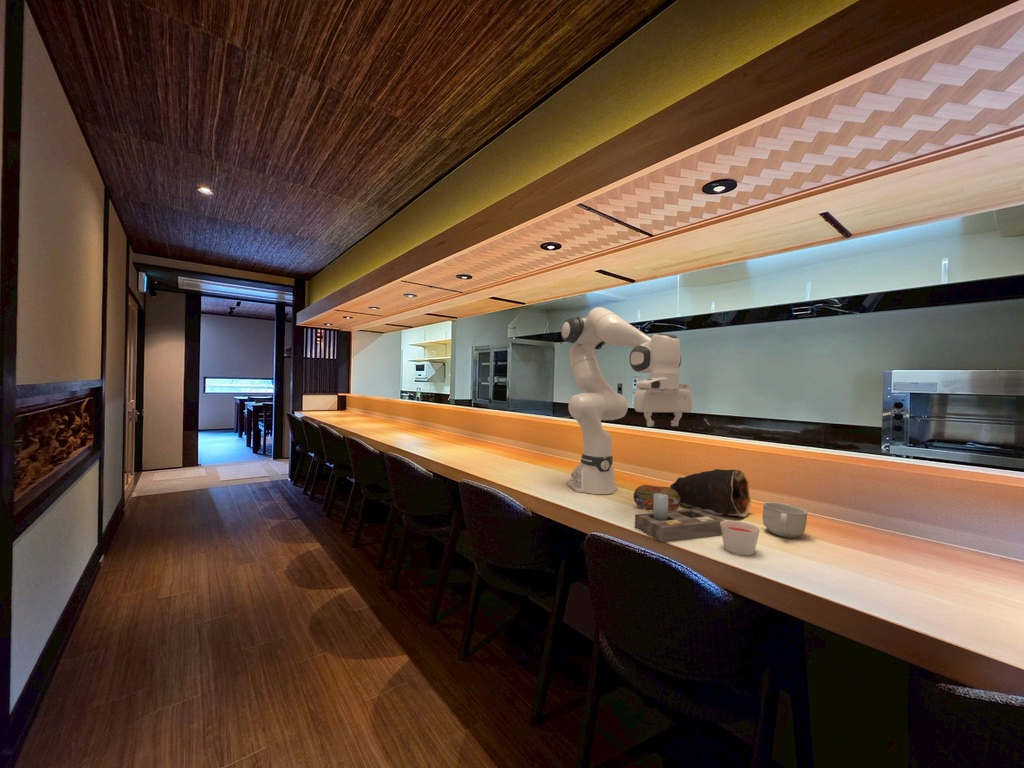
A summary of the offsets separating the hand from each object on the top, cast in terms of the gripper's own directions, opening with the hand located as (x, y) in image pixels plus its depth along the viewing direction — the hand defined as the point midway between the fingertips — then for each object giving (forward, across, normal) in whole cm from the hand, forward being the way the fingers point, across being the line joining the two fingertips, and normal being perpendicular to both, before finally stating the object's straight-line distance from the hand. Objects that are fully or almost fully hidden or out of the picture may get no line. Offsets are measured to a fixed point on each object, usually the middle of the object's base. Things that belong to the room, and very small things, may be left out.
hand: (662, 426), depth 135 cm
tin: (+30, -3, -5) cm, 30 cm away
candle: (+29, -2, +30) cm, 41 cm away
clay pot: (+30, -21, -2) cm, 36 cm away
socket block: (+29, +4, +14) cm, 32 cm away
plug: (+28, +9, +12) cm, 32 cm away
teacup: (+29, -24, +25) cm, 45 cm away
